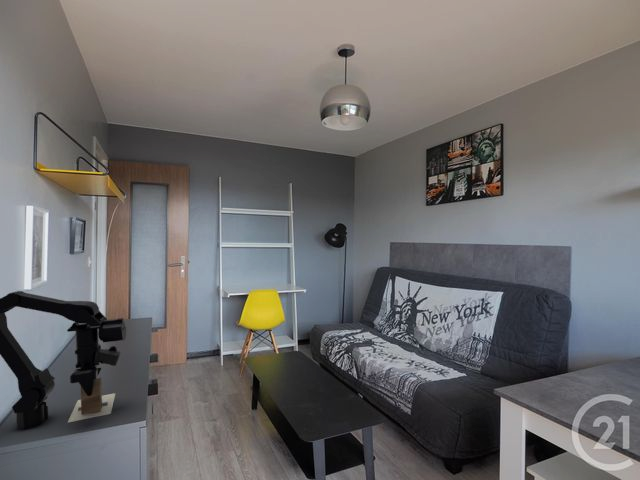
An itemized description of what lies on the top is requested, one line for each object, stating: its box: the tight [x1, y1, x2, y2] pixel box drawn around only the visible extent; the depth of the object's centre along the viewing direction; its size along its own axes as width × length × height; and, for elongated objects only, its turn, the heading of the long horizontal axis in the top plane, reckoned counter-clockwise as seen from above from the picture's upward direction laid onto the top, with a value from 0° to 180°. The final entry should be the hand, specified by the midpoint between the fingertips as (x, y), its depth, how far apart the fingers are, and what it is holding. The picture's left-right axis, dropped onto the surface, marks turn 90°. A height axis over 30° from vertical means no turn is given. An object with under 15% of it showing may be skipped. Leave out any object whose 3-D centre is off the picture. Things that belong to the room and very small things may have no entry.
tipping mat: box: [67, 392, 116, 423], centre depth 118 cm, size 17×11×2 cm, turn 25°
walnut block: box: [80, 377, 103, 414], centre depth 115 cm, size 4×5×9 cm
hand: (89, 395), depth 111 cm, fingers closed
